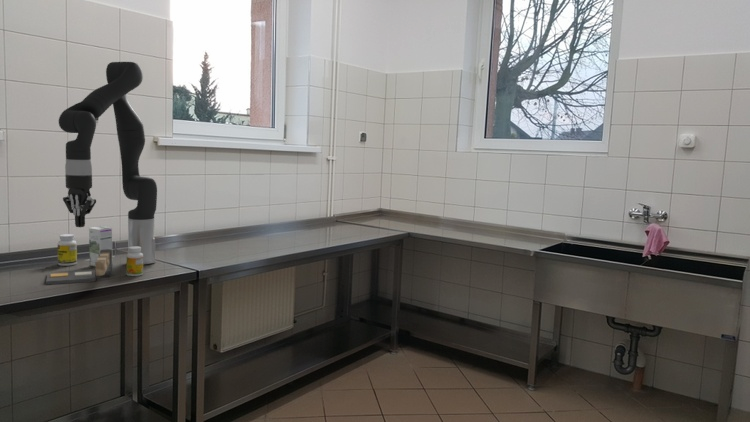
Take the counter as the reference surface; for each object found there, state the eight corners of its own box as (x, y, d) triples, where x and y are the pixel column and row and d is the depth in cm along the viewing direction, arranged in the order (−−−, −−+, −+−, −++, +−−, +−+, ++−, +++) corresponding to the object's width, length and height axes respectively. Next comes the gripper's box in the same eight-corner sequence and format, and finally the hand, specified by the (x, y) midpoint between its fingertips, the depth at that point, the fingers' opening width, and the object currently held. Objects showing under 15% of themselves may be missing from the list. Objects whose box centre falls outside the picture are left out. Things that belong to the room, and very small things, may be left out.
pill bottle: (53, 264, 200) (53, 235, 199) (68, 262, 206) (68, 233, 205) (66, 266, 198) (65, 236, 197) (80, 263, 204) (80, 234, 202)
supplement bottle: (123, 274, 190) (123, 247, 189) (137, 272, 195) (137, 245, 194) (132, 277, 187) (131, 249, 186) (146, 274, 192) (146, 247, 191)
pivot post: (112, 274, 190) (112, 262, 190) (113, 276, 187) (112, 265, 186) (99, 274, 188) (99, 263, 188) (100, 277, 185) (99, 265, 184)
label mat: (94, 272, 192) (94, 268, 192) (95, 281, 180) (95, 276, 180) (48, 274, 185) (48, 270, 185) (46, 284, 173) (46, 280, 173)
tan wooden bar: (100, 262, 188) (100, 249, 188) (112, 262, 189) (112, 249, 189) (93, 276, 169) (92, 261, 168) (105, 275, 170) (105, 261, 169)
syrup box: (113, 265, 203) (113, 227, 202) (99, 268, 198) (99, 228, 196) (102, 263, 206) (102, 225, 204) (88, 266, 200) (88, 227, 199)
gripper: (103, 174, 176) (104, 227, 178) (74, 172, 181) (76, 223, 183) (82, 175, 169) (84, 230, 171) (53, 172, 174) (55, 226, 176)
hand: (80, 226), depth 177 cm, fingers closed
